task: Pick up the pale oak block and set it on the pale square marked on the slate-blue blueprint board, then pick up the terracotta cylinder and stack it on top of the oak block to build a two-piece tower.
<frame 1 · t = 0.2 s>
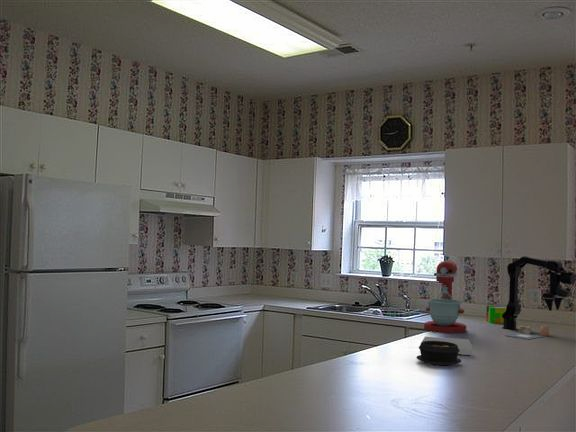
hand: (554, 310, 353), 14 cm above the worktop, tool pointing down, fingers open, 9 cm apart
stand mixer: (444, 330, 360), on the worktop
terracotta cylinder: (544, 335, 349), on the worktop
casserole: (438, 364, 260), on the worktop
blueprint board: (523, 336, 343), on the worktop
puzzle toy: (495, 322, 401), on the worktop
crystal: (446, 353, 285), on the worktop
oak block: (524, 333, 356), on the worktop
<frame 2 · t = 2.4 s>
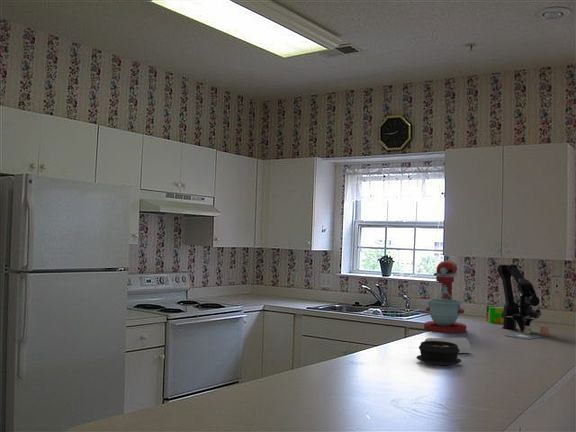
hand: (524, 331, 356), 1 cm above the worktop, tool pointing down, fingers closed on oak block, 5 cm apart
oak block: (524, 333, 356), on the worktop, touching gripper
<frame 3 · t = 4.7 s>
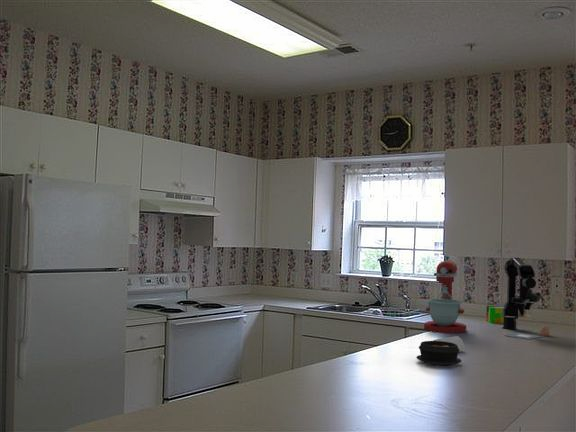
hand: (524, 315, 345), 12 cm above the worktop, tool pointing down, fingers closed on oak block, 5 cm apart
oak block: (524, 317, 345), point 11 cm above the worktop, touching gripper
when the fingers open (3 cm above the worktop, at t = 6.8 s): oak block drops 2 cm, resting on blueprint board.
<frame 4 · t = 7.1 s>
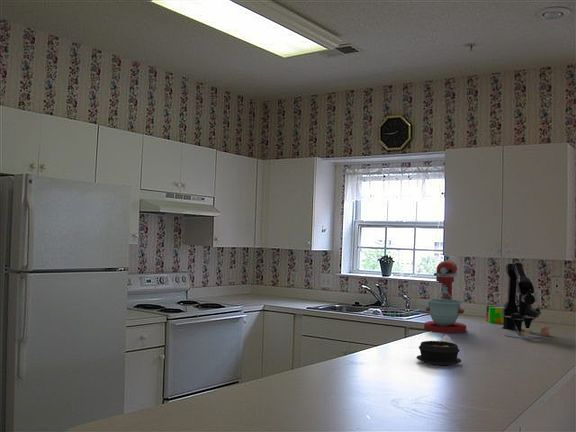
hand: (523, 331, 343), 3 cm above the worktop, tool pointing down, fingers open, 9 cm apart
oak block: (523, 335, 343), resting on blueprint board
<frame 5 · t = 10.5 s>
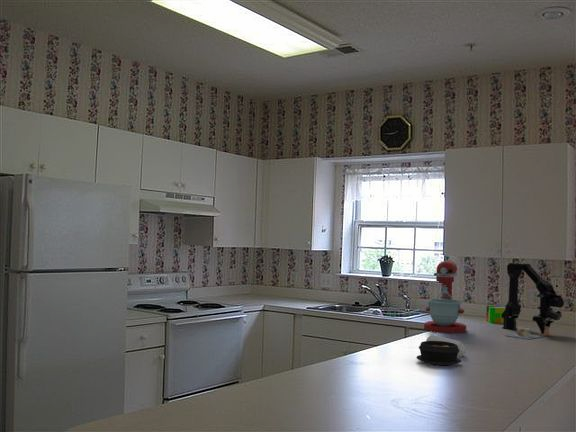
hand: (544, 333, 349), 1 cm above the worktop, tool pointing down, fingers closed on terracotta cylinder, 5 cm apart
terracotta cylinder: (544, 335, 349), on the worktop, touching gripper
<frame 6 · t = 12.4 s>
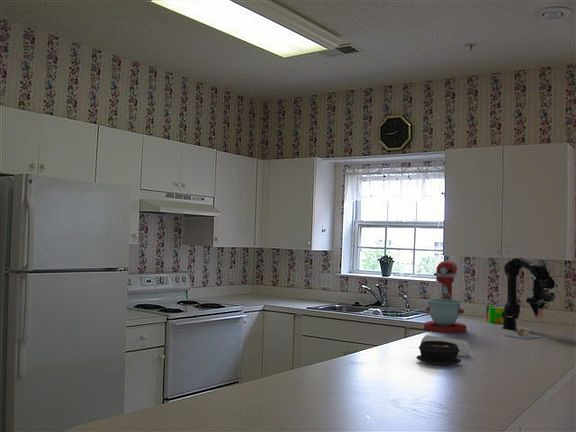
hand: (538, 315, 348), 12 cm above the worktop, tool pointing down, fingers closed on terracotta cylinder, 5 cm apart
terracotta cylinder: (538, 317, 347), point 10 cm above the worktop, touching gripper
when the fingers open (7 cm above the worktop, at t = 14.4 s): terracotta cylinder drops 1 cm, resting on oak block.
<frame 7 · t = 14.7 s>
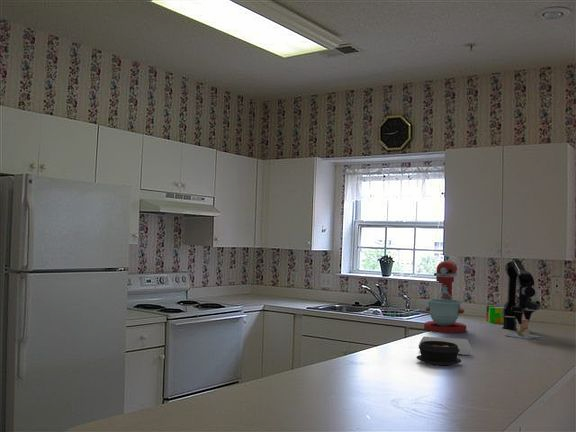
hand: (523, 323, 343), 7 cm above the worktop, tool pointing down, fingers open, 8 cm apart
terracotta cylinder: (523, 328, 343), point 4 cm above the worktop, touching oak block
oak block: (523, 335, 343), resting on blueprint board, touching terracotta cylinder
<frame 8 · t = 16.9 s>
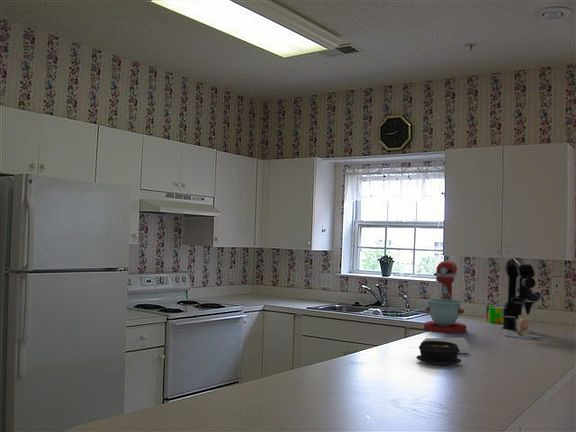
hand: (524, 314, 343), 12 cm above the worktop, tool pointing down, fingers open, 9 cm apart
at the end: oak block inside the target area (0.0 cm from its centre), resting on blueprint board; terracotta cylinder 0.0 cm off-centre on the oak block, point 4.0 cm above the oak block's base; terracotta cylinder tilted 0° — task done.
